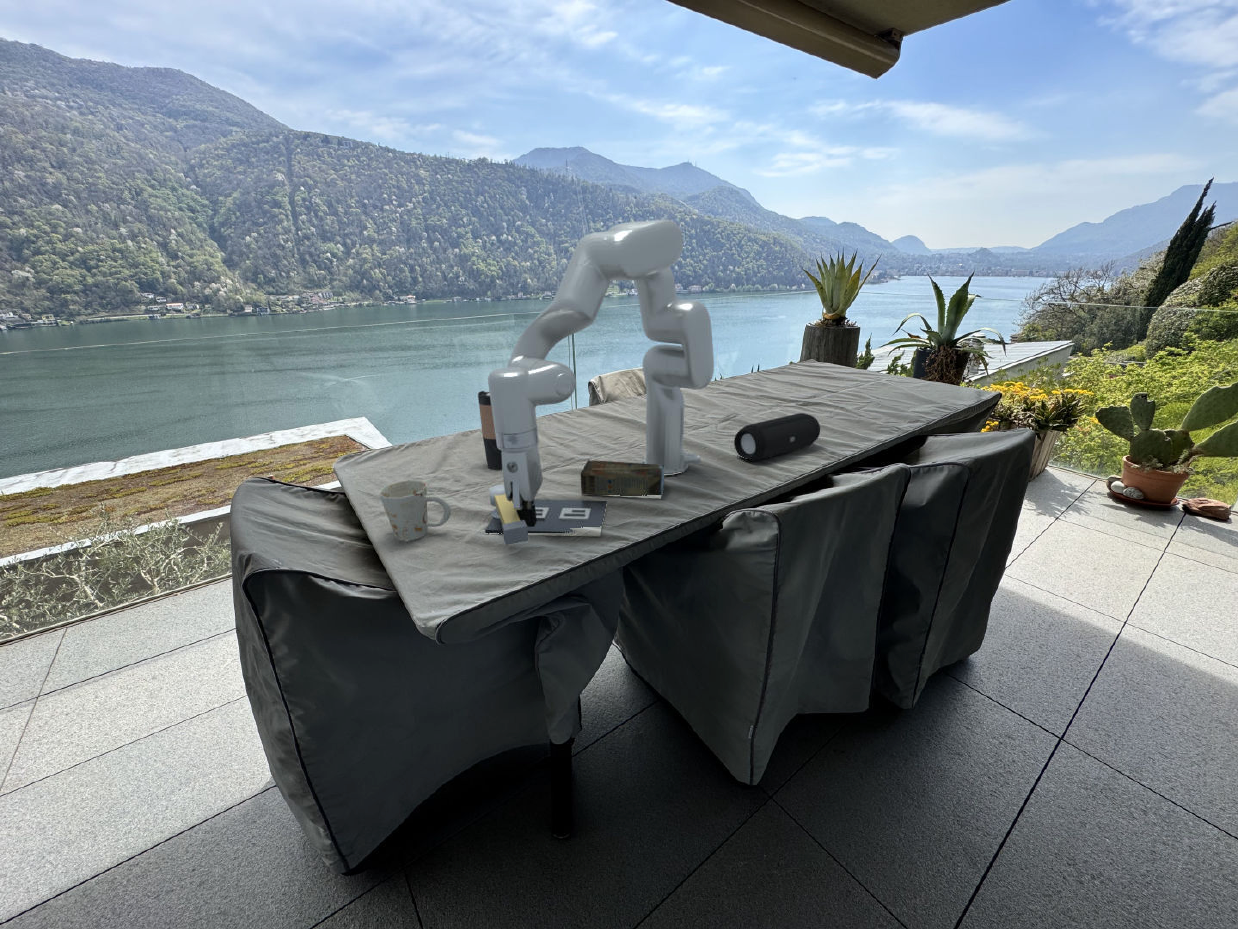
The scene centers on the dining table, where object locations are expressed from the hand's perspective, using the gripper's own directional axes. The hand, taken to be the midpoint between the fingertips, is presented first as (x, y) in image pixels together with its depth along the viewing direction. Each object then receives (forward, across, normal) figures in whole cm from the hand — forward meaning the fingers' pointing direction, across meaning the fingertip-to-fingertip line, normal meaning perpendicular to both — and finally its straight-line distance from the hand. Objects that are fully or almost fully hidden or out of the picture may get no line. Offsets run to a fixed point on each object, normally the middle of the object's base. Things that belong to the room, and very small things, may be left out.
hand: (528, 524), depth 94 cm
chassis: (+2, +7, -3) cm, 8 cm away
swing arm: (-1, 0, +4) cm, 4 cm away
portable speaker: (+5, +49, -59) cm, 76 cm away
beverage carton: (+4, +21, -17) cm, 28 cm away
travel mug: (+3, +36, +17) cm, 40 cm away
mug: (+2, -1, +22) cm, 22 cm away
